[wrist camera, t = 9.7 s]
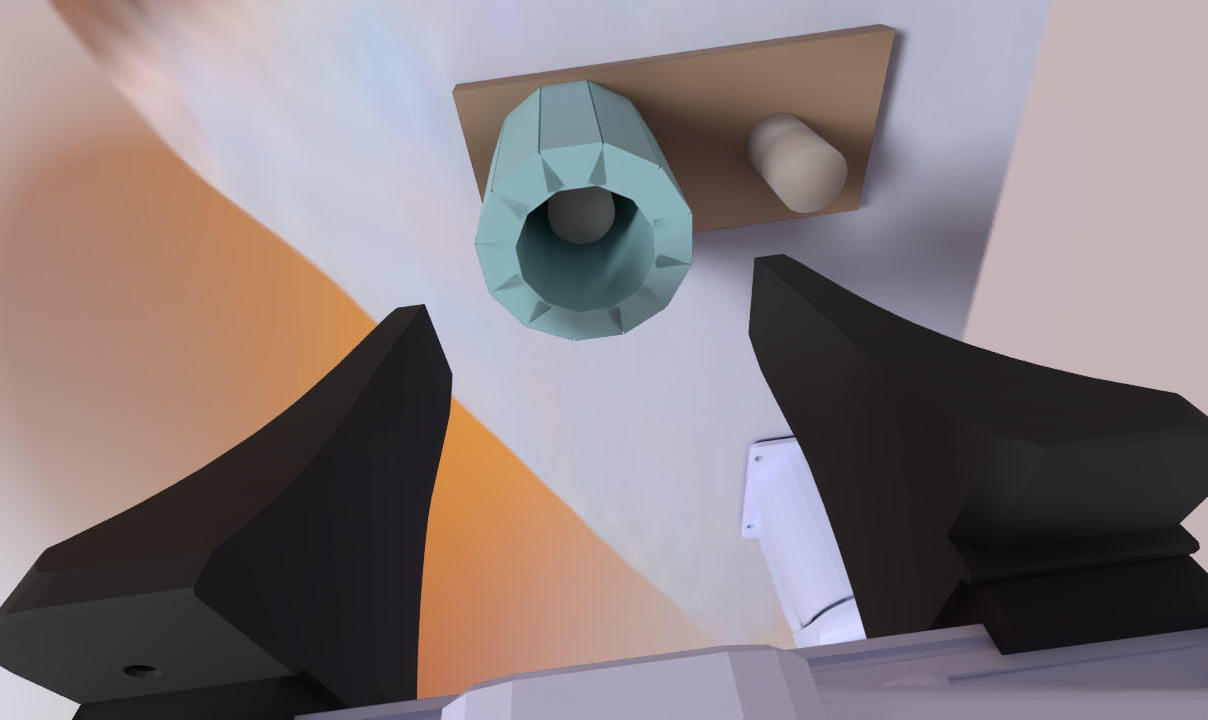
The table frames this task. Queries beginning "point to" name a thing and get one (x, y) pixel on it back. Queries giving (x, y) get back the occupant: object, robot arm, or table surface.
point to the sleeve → (595, 270)
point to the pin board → (722, 126)
